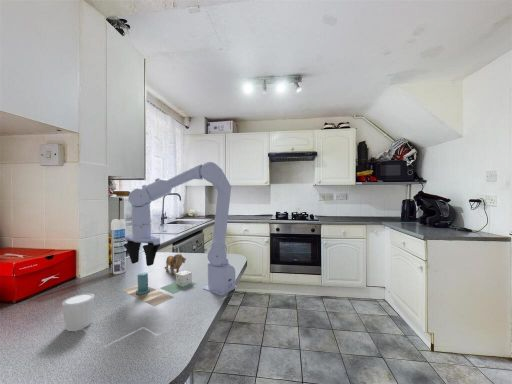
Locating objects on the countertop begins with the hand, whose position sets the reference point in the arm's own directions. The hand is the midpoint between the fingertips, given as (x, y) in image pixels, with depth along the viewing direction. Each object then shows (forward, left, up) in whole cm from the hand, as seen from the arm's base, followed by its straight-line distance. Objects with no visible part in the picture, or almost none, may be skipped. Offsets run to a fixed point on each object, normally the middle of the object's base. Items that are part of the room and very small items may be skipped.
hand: (142, 263), depth 81 cm
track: (-2, 0, -10) cm, 10 cm away
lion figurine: (+8, -18, -10) cm, 22 cm away
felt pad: (-6, -10, -10) cm, 15 cm away
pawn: (0, 0, -10) cm, 10 cm away
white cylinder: (-5, +20, -10) cm, 23 cm away
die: (-6, -12, -10) cm, 17 cm away
